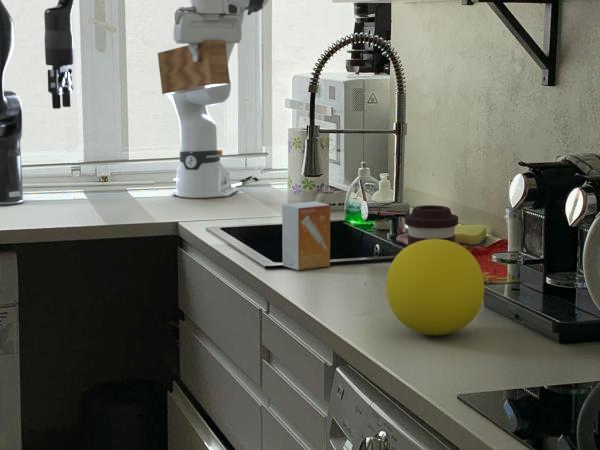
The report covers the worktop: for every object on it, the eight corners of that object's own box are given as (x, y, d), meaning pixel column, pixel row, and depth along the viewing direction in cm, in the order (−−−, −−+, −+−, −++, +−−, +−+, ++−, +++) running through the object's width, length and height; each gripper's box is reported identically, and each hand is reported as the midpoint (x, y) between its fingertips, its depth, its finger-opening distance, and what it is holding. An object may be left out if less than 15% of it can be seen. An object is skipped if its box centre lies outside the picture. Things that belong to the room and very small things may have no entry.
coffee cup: (400, 280, 202) (400, 204, 200) (450, 279, 203) (451, 203, 201) (409, 292, 193) (410, 212, 190) (462, 291, 193) (463, 211, 191)
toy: (452, 317, 175) (453, 228, 172) (500, 340, 161) (502, 244, 158) (370, 326, 170) (371, 235, 167) (413, 350, 156) (414, 252, 153)
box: (162, 94, 285) (157, 53, 284) (180, 93, 289) (175, 52, 288) (211, 84, 269) (206, 40, 268) (230, 83, 273) (225, 40, 272)
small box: (298, 271, 212) (298, 207, 210) (281, 266, 217) (281, 204, 215) (331, 266, 217) (330, 204, 214) (314, 261, 222) (313, 200, 220)
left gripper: (64, 47, 275) (67, 109, 277) (80, 47, 289) (83, 106, 291) (36, 47, 275) (39, 109, 278) (54, 47, 289) (57, 106, 292)
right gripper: (182, 6, 262) (183, 62, 264) (244, 7, 276) (245, 60, 278) (167, 7, 266) (169, 62, 269) (229, 8, 280) (230, 60, 283)
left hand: (62, 107), depth 285 cm, fingers open, 8 cm apart
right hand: (208, 61), depth 274 cm, fingers closed on box, 6 cm apart
